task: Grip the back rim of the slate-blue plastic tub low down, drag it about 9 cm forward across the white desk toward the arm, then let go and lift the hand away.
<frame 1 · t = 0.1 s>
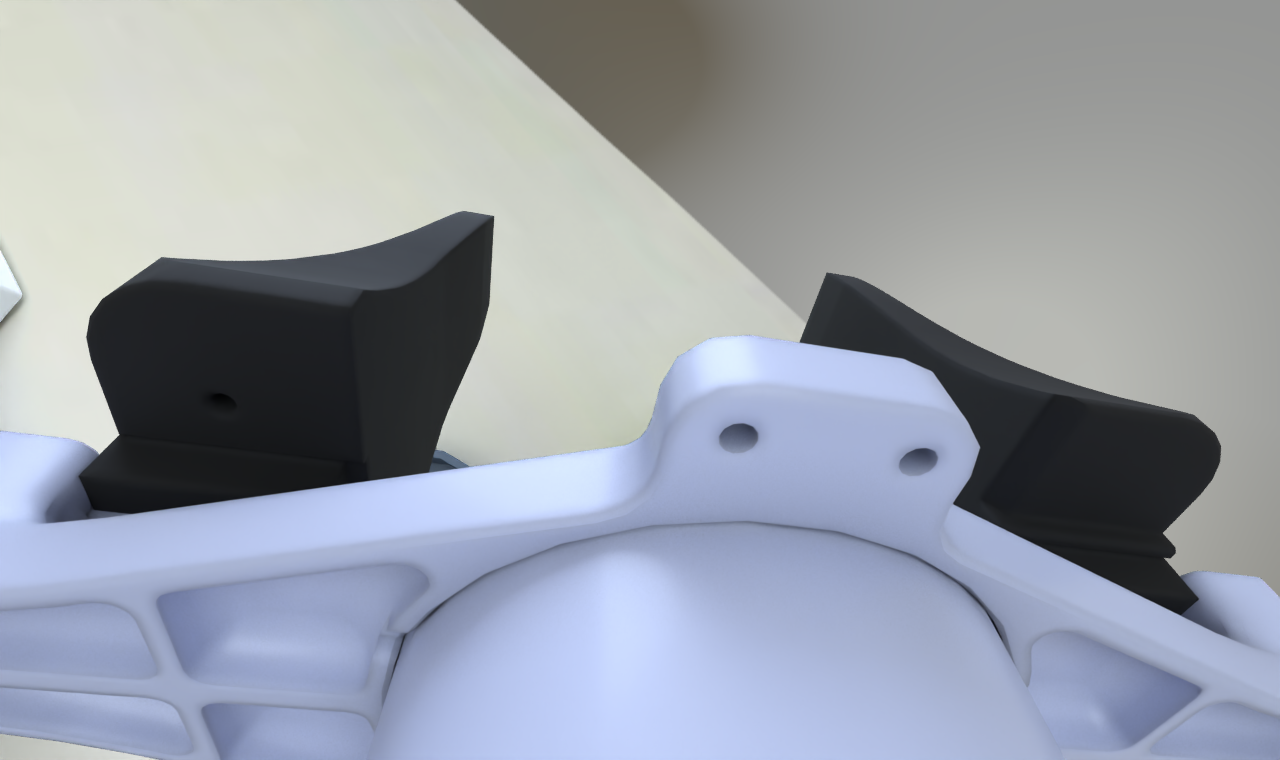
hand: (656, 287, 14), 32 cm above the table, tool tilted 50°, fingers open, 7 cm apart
tub: (416, 546, 41), on the table
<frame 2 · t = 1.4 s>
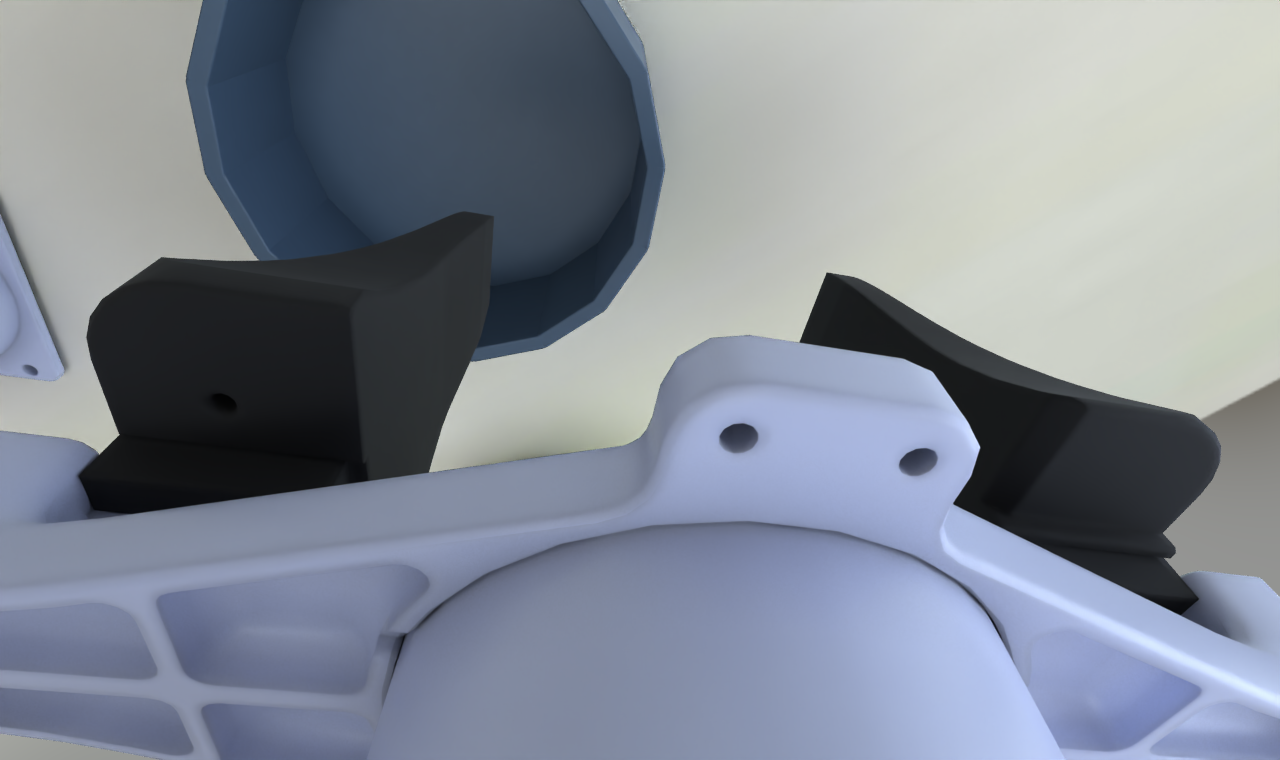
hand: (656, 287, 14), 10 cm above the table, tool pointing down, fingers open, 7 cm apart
tub: (472, 125, 21), on the table
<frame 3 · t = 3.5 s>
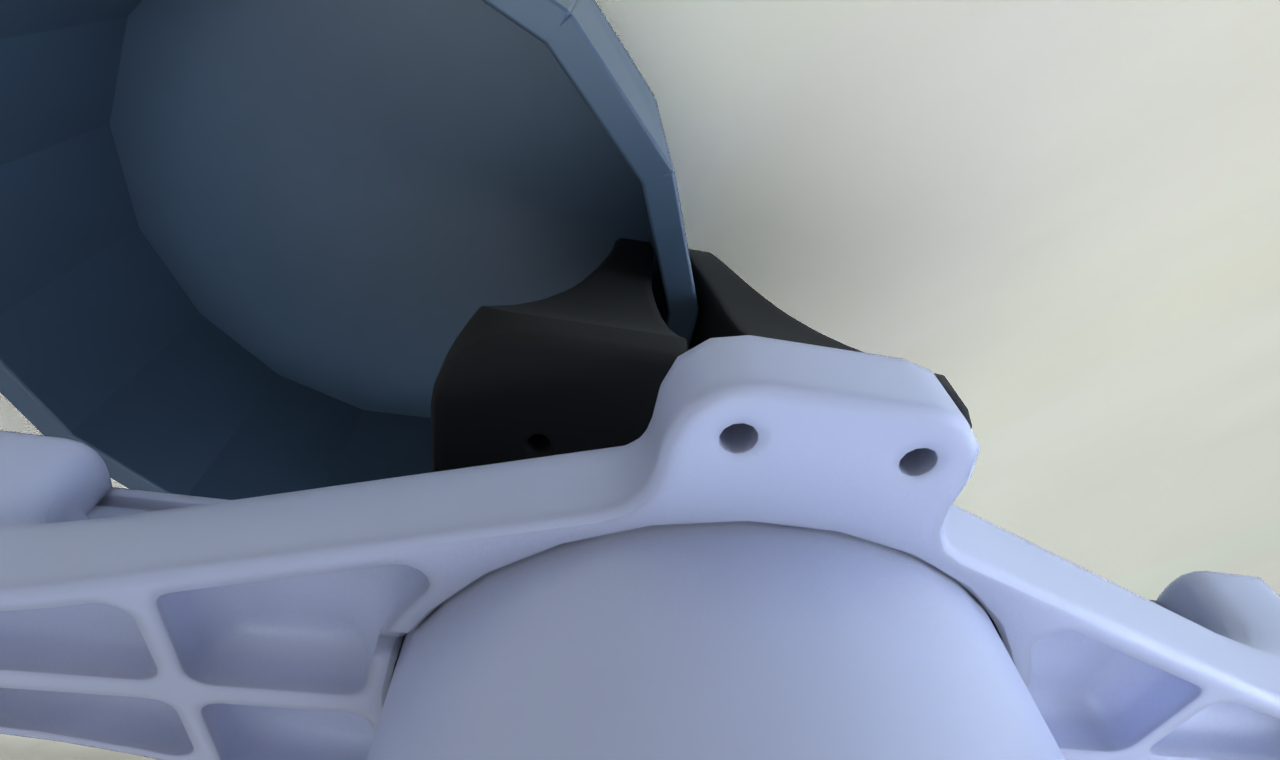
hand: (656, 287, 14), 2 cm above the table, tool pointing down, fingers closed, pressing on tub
tub: (406, 211, 14), on the table, touching gripper
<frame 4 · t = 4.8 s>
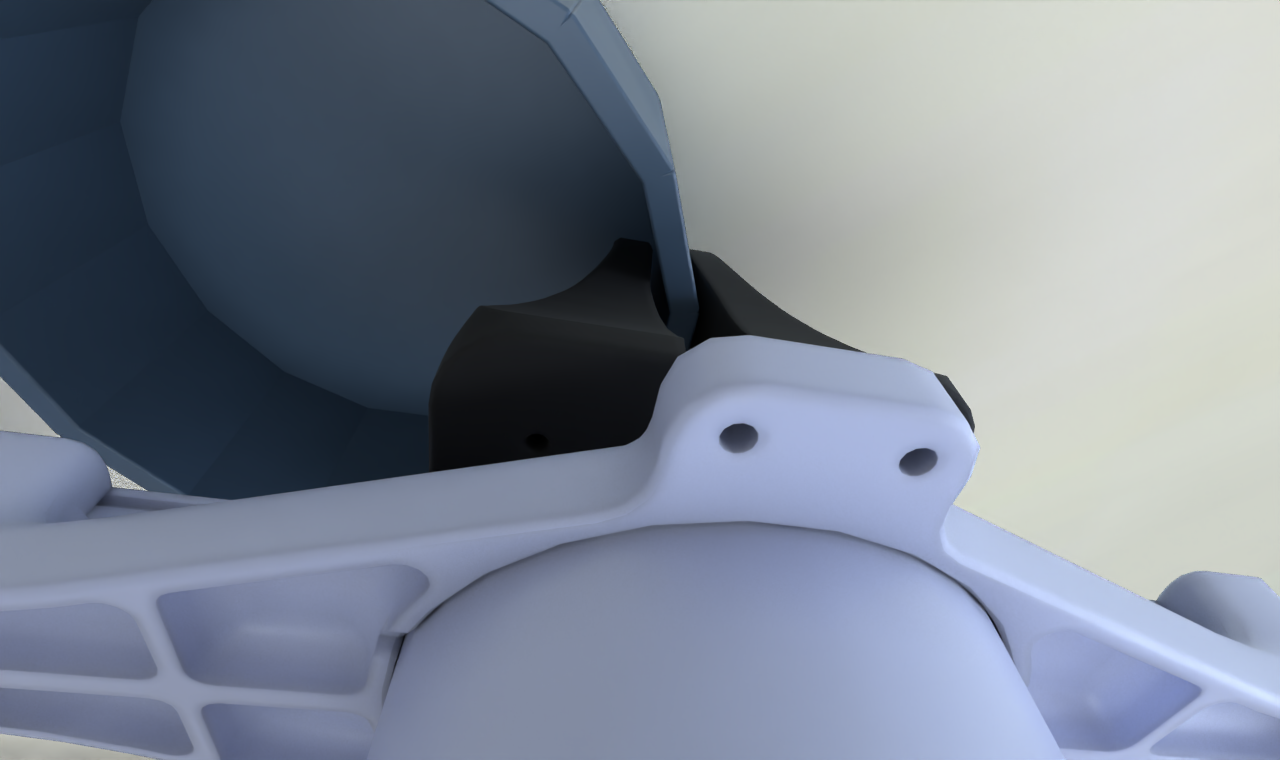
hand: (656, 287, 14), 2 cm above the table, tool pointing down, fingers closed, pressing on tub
tub: (411, 210, 14), on the table, touching gripper
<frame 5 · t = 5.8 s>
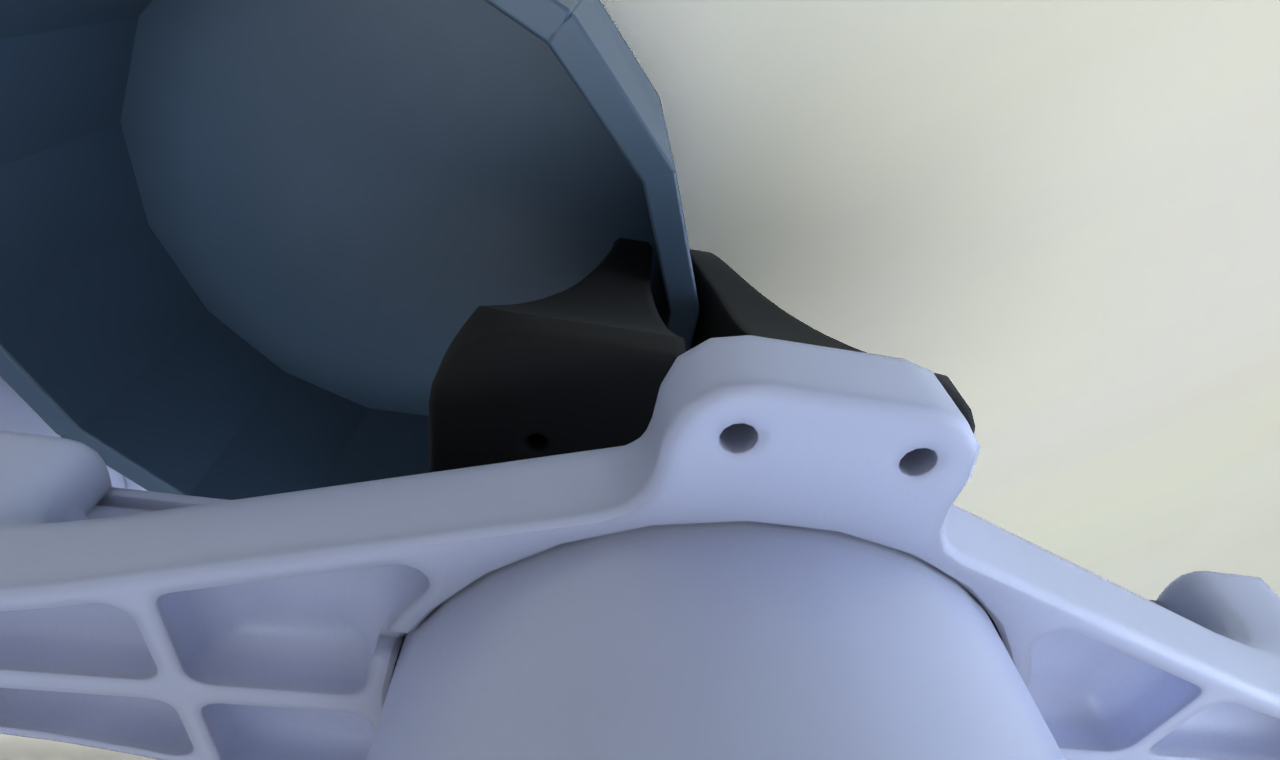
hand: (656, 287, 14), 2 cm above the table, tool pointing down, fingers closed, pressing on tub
tub: (411, 211, 14), on the table, touching gripper
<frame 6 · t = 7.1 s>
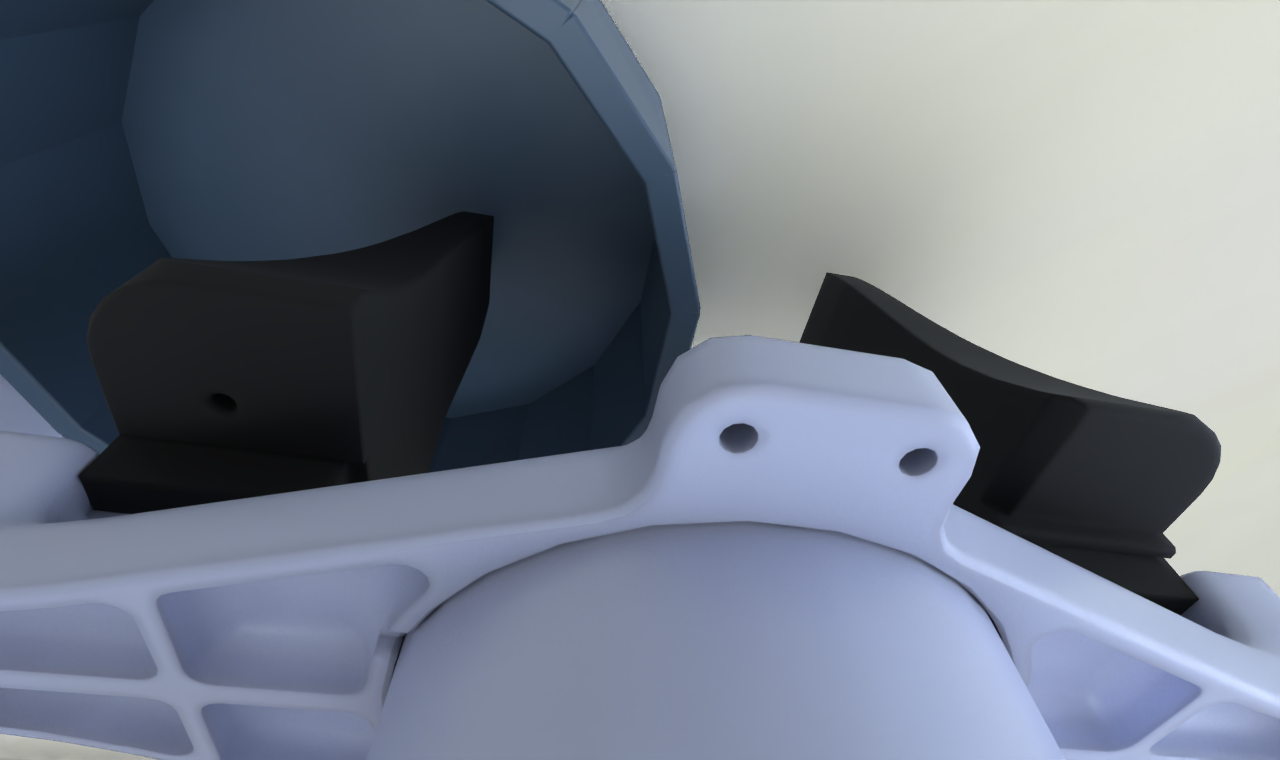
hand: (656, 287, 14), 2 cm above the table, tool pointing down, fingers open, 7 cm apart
tub: (412, 210, 14), on the table
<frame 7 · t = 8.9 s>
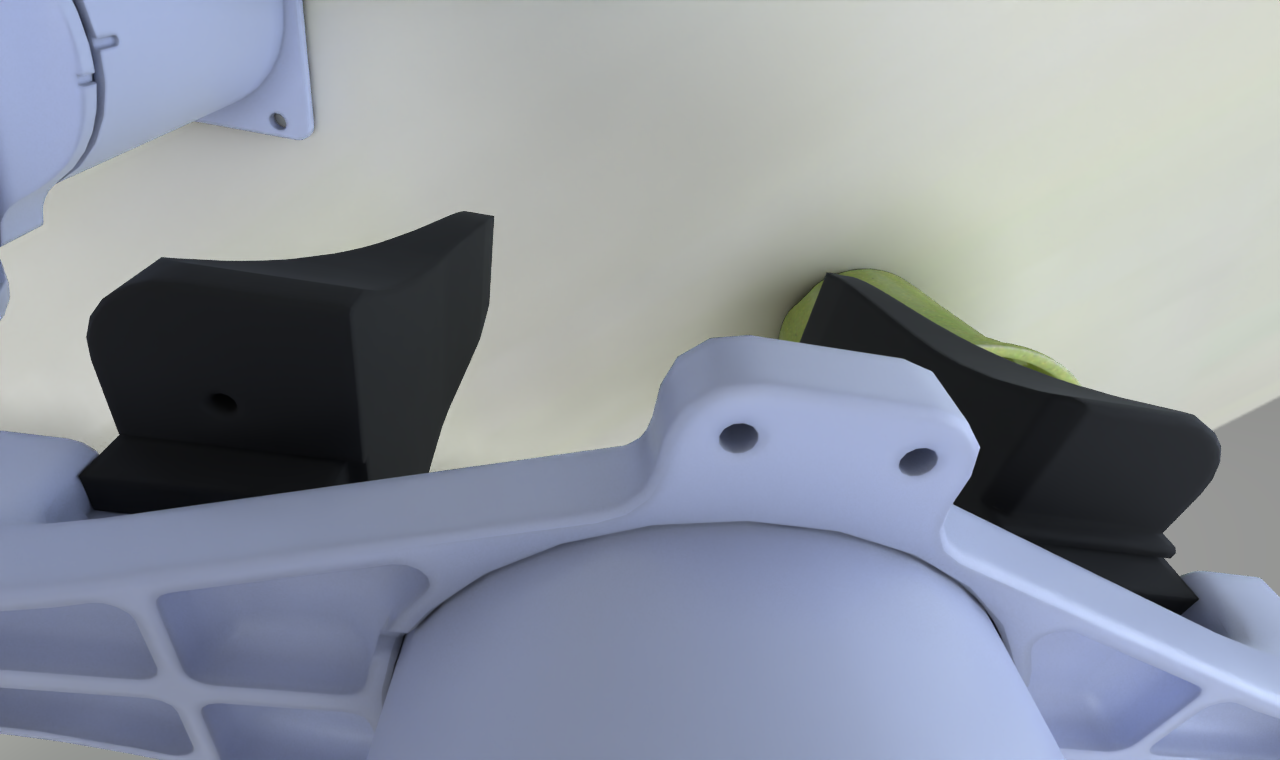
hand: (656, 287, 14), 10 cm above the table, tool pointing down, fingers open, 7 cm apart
plant pot: (847, 328, 27), on the table
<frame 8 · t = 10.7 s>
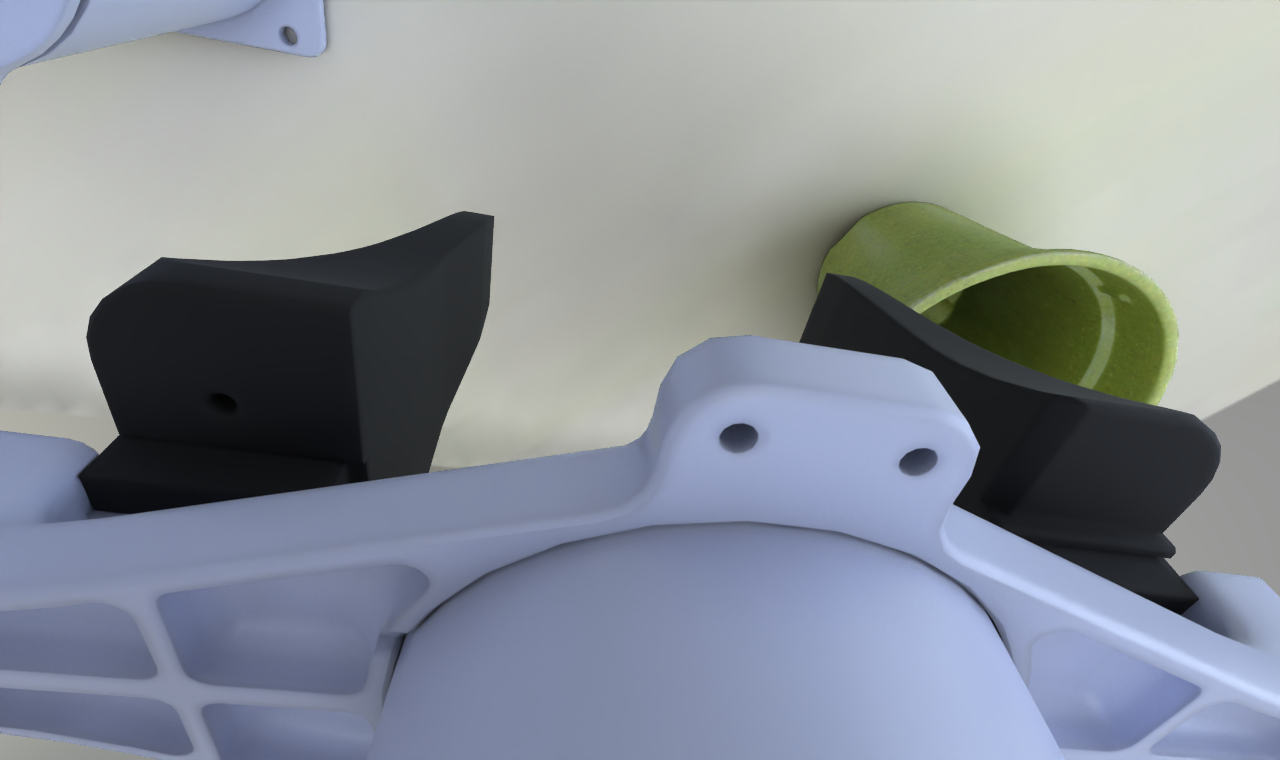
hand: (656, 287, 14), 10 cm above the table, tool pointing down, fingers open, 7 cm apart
plant pot: (890, 270, 25), on the table
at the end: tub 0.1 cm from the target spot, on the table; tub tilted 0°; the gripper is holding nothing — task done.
